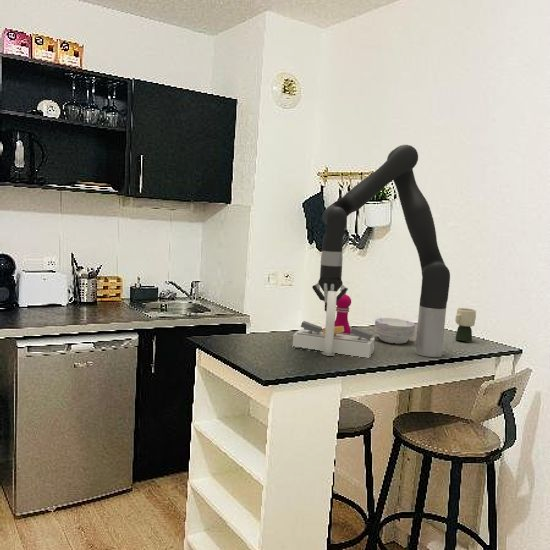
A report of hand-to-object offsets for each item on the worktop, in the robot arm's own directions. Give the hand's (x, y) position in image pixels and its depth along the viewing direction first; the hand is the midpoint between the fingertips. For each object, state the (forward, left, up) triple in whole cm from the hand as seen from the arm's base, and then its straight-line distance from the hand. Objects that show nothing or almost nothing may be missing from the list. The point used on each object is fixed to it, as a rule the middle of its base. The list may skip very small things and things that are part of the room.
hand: (328, 312), depth 197 cm
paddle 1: (+6, 0, -7) cm, 9 cm away
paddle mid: (-2, 0, -7) cm, 7 cm away
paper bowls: (-21, -27, -13) cm, 36 cm away
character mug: (-47, -43, -13) cm, 65 cm away
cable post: (-3, +8, -13) cm, 16 cm away
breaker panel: (-3, 0, -13) cm, 13 cm away
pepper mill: (-3, -12, -13) cm, 18 cm away
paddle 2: (-12, 0, -7) cm, 14 cm away
